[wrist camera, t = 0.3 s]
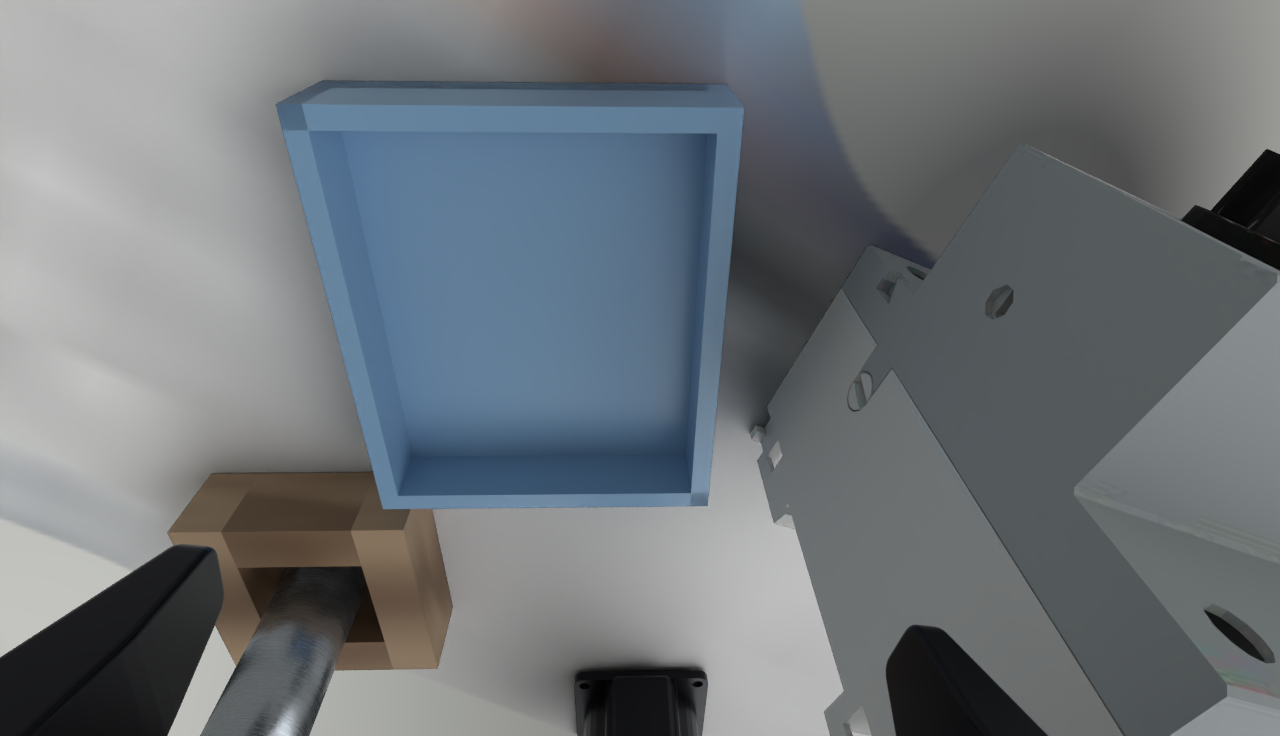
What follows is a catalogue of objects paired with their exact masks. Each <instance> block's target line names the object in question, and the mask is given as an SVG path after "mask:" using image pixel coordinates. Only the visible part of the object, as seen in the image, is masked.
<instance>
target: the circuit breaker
mask: <svg viewBox="0 0 1280 736" xmlns="http://www.w3.org/2000/svg"><path fill="white" fill-rule="evenodd" d="M767 409H768V412H769V415H770V420H769V422H768V423H767V425H766V426H765V428H764V427H761V426H758V425H755V426H754V428H753V430H752V431H751V433H750V435H751V439H752V440H754V441H757V442H760V443H761V445H762V448H763V452H762V454H761V456H760V457H759V459H758V460H757V461H758V465H759V469H760V473H761V476H762V480H763V484H764V488H765V492H766V495H767V499H768V503H769V507H770V510H771V514H772V518H773V522H774V523H775V524H778V525H781V526H785V527H788V528H792V529H795V530H796V532H797V535H798V539H799V542H800V546H801V549H802V552H803V556H804V559H805V562H806V566H807V569H808V572H809V576H810V579H811V582H812V586H813V589H814V592H815V596H816V599H817V602H818V606H819V609H820V612H821V616H822V619H823V622H824V626H825V629H826V633H827V636H828V639H829V643H830V646H831V649H832V653H833V656H834V659H835V663H836V666H837V669H838V673H839V676H840V679H841V683H842V686H843V689H844V692H843V693H842V694H841V695H840V696H839V697H838V698H837V699H836V700H835V701H834V702H833V703H832V704H831V705H830V706H829V707H828V708H827V709H826V710H825V711H824V714H825V718H826V722H827V726H828V729H829V733H830V736H853V735H852V732H856V733H861V734H866V735H870V736H896V734H895V728H894V722H893V716H892V711H891V705H890V699H889V693H888V688H887V682H886V664H887V660H888V658H889V656H890V654H891V653H892V651H893V650H894V648H895V646H896V645H897V643H898V642H899V640H900V638H901V637H902V635H903V633H904V632H905V630H906V629H907V628H908V627H909V626H911V625H915V624H917V625H926V626H935V627H938V628H941V629H942V630H944V631H945V632H946V633H947V634H948V635H949V636H950V637H951V638H952V639H953V640H954V641H955V642H956V643H957V644H958V645H959V646H960V647H961V648H962V649H963V650H964V651H965V652H966V653H967V654H968V655H969V656H970V657H971V658H972V659H973V660H974V661H975V662H976V663H977V664H978V665H979V666H980V667H981V668H982V669H983V670H984V671H985V672H986V673H987V674H988V675H989V676H990V677H991V678H992V679H993V680H994V681H995V682H996V683H997V684H998V685H999V686H1000V687H1001V688H1002V689H1003V690H1004V691H1005V692H1006V693H1007V694H1008V695H1009V696H1010V697H1011V698H1012V699H1013V700H1014V701H1015V702H1016V703H1017V704H1018V705H1019V706H1020V707H1021V708H1022V709H1023V710H1024V711H1025V713H1026V714H1027V715H1028V716H1029V717H1030V718H1031V719H1032V720H1033V721H1034V722H1035V723H1036V724H1037V725H1038V726H1039V727H1040V728H1041V729H1042V730H1043V731H1044V732H1045V733H1046V734H1047V735H1048V736H1280V154H1277V153H1275V152H1273V151H1271V150H1268V149H1266V150H1265V151H1264V152H1263V154H1262V155H1261V156H1260V157H1259V158H1258V159H1257V160H1256V161H1255V162H1254V163H1253V164H1252V166H1251V167H1250V168H1249V169H1248V170H1247V171H1246V172H1245V173H1244V174H1243V176H1242V177H1241V178H1240V179H1239V180H1238V181H1237V182H1236V183H1235V184H1234V185H1233V187H1232V188H1231V189H1230V190H1229V191H1228V192H1227V193H1226V195H1224V196H1223V198H1222V199H1221V200H1220V201H1219V202H1218V203H1217V204H1216V205H1215V206H1214V208H1213V209H1212V210H1211V211H1210V210H1207V209H1204V208H1202V207H1200V206H1196V205H1195V206H1194V207H1193V208H1192V209H1191V210H1190V211H1189V212H1188V213H1187V214H1186V215H1185V216H1184V217H1183V218H1182V219H1181V218H1179V217H1177V216H1175V215H1173V214H1171V213H1169V212H1167V211H1165V210H1162V209H1160V208H1158V207H1156V206H1154V205H1152V204H1150V203H1148V202H1146V201H1144V200H1142V199H1140V198H1138V197H1135V196H1133V195H1131V194H1129V193H1127V192H1125V191H1123V190H1121V189H1119V188H1116V187H1114V186H1112V185H1110V184H1108V183H1106V182H1104V181H1102V180H1100V179H1098V178H1096V177H1093V176H1091V175H1089V174H1087V173H1085V172H1083V171H1081V170H1079V169H1077V168H1075V167H1073V166H1071V165H1068V164H1066V163H1064V162H1062V161H1060V160H1058V159H1056V158H1054V157H1051V156H1050V155H1048V154H1045V153H1043V152H1041V151H1039V150H1037V149H1035V148H1033V147H1031V146H1029V145H1026V144H1025V143H1022V144H1020V145H1018V146H1017V148H1016V149H1015V151H1014V152H1013V153H1012V155H1011V156H1010V158H1009V159H1008V161H1007V162H1006V163H1005V165H1004V166H1003V168H1002V169H1001V171H1000V172H999V174H998V175H997V176H996V178H995V179H994V180H993V182H992V183H991V185H990V186H989V188H988V189H987V190H986V192H985V193H984V195H983V196H982V198H981V199H980V200H979V202H978V203H977V205H976V206H975V208H974V209H973V210H972V212H971V214H970V215H969V216H968V218H967V219H966V221H965V222H964V223H963V225H962V226H961V228H960V229H959V231H958V232H957V233H956V235H955V236H954V238H953V239H952V240H951V242H950V243H949V245H948V246H947V248H946V249H945V250H944V252H943V253H942V255H941V256H940V258H939V259H938V260H937V262H936V263H935V265H934V266H933V268H932V269H928V268H926V267H924V266H921V265H919V264H916V263H914V262H911V261H909V260H907V259H904V258H902V257H899V256H897V255H894V254H892V253H889V252H887V251H885V250H882V249H880V248H877V247H875V246H872V245H869V246H867V247H866V249H865V251H864V252H863V254H862V255H861V257H860V259H859V260H858V262H857V263H856V265H855V267H854V268H853V270H852V271H851V273H850V275H849V276H848V278H847V279H846V281H845V283H844V284H843V286H842V288H841V289H840V291H839V292H838V294H837V295H836V297H835V299H834V300H833V302H832V303H831V305H830V307H829V308H828V310H827V311H826V313H825V314H824V316H823V318H822V319H821V321H820V322H819V324H818V326H817V327H816V329H815V330H814V332H813V334H812V335H811V337H810V338H809V340H808V342H807V343H806V345H805V346H804V348H803V350H802V351H801V353H800V354H799V356H798V358H797V359H796V361H795V362H794V364H793V366H792V367H791V369H790V370H789V372H788V374H787V375H786V377H785V378H784V380H783V382H782V383H781V385H780V386H779V388H778V390H777V391H776V393H775V394H774V396H773V398H772V399H771V401H770V402H769V404H768V406H767ZM781 452H782V454H783V457H782V458H781V460H780V461H779V463H778V464H777V466H776V467H775V469H774V466H773V464H774V463H775V461H776V460H777V458H778V457H779V455H780V454H781ZM851 731H852V732H851Z"/></svg>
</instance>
